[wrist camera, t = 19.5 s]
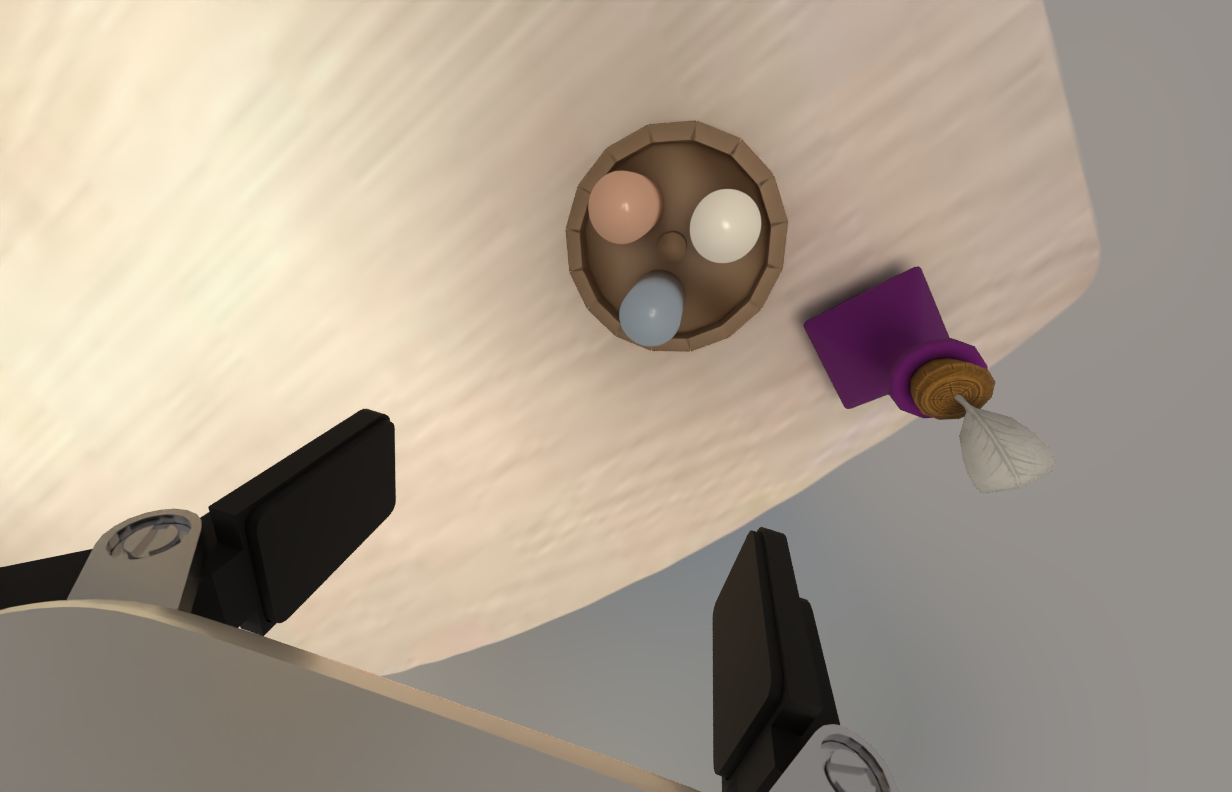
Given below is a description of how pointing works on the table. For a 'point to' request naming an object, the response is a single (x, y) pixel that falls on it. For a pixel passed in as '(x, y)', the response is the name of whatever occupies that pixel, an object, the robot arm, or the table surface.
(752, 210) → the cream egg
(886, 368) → the perfume bottle
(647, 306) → the bead slate
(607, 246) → the groove tray
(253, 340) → the table surface
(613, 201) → the bead terracotta
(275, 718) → the robot arm
